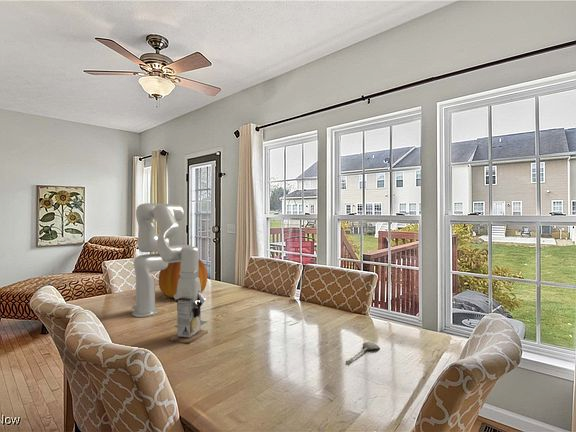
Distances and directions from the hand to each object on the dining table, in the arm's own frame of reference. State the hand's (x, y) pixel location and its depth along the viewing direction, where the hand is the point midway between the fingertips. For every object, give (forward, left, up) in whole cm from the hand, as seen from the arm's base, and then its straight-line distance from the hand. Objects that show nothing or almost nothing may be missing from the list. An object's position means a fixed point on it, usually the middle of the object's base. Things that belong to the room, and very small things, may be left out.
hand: (189, 315), depth 137 cm
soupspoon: (+73, +10, -10) cm, 74 cm away
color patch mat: (-9, +13, -9) cm, 18 cm away
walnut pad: (0, 0, -9) cm, 9 cm away
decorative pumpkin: (-47, +54, -10) cm, 72 cm away
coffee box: (0, 0, -8) cm, 8 cm away
